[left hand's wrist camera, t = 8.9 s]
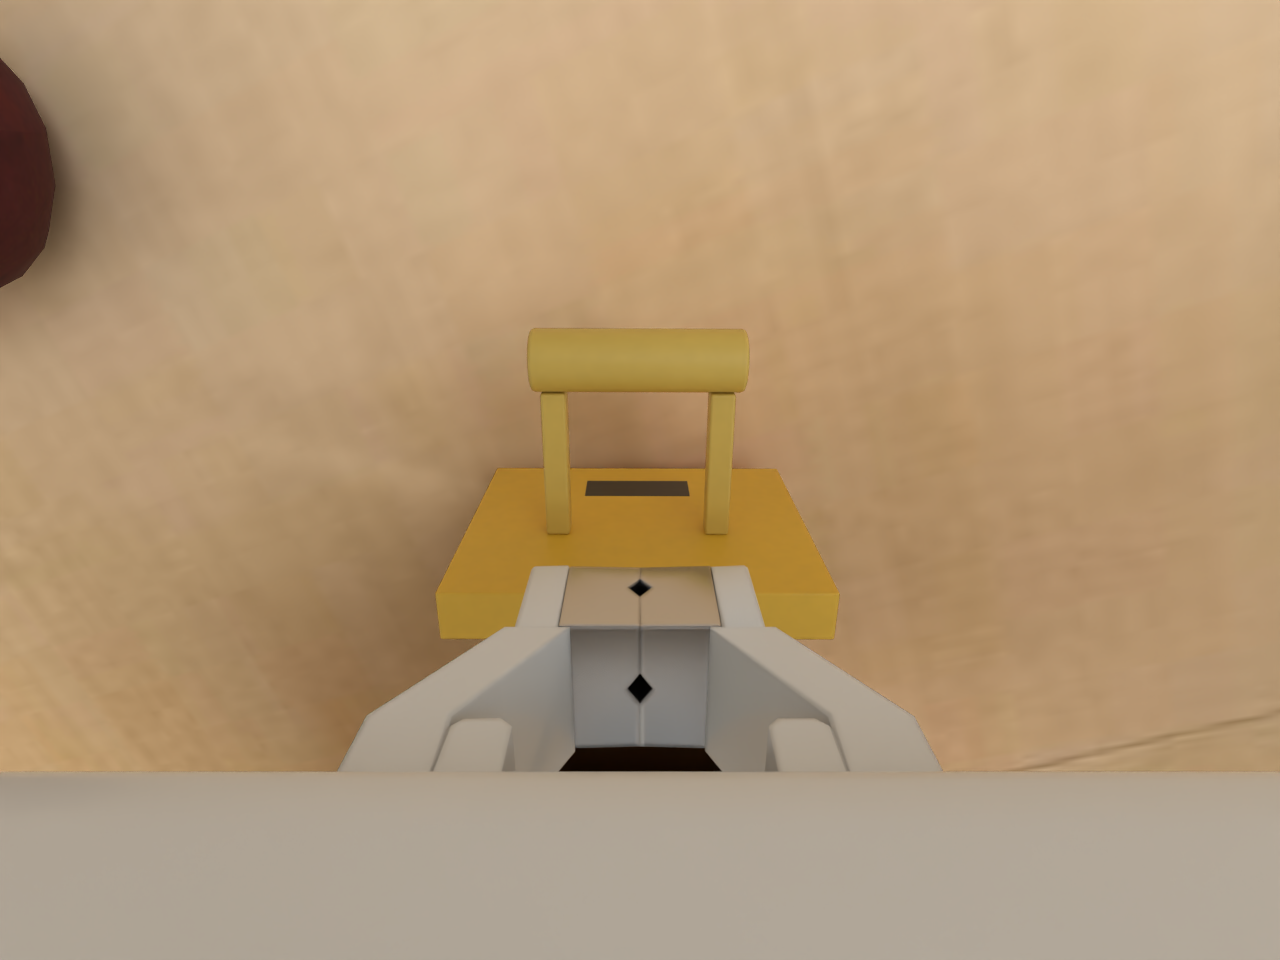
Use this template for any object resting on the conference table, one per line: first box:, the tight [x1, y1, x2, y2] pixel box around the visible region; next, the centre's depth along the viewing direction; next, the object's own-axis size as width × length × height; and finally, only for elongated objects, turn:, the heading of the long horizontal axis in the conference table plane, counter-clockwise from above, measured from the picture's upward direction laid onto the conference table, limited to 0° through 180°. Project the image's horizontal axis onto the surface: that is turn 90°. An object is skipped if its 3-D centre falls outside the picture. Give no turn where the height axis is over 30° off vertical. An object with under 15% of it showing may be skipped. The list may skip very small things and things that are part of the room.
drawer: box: [435, 328, 840, 772], centre depth 22 cm, size 24×9×8 cm, turn 0°
